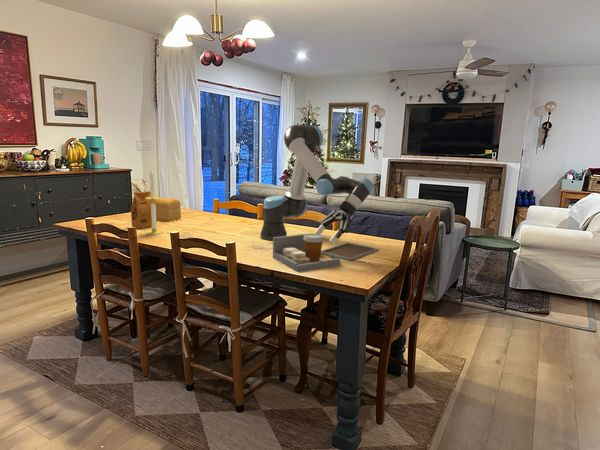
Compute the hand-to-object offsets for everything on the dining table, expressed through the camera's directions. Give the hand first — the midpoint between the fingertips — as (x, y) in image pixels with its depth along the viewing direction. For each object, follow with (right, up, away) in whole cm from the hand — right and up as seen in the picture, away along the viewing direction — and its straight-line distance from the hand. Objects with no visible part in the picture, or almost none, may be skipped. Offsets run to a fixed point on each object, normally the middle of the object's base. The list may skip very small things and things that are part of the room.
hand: (323, 239), depth 195 cm
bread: (-105, +11, +88) cm, 138 cm away
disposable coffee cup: (-5, -10, +1) cm, 11 cm away
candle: (-96, +2, +48) cm, 107 cm away
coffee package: (-107, +5, +62) cm, 124 cm away
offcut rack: (-8, -10, 0) cm, 13 cm away
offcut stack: (-13, -11, -3) cm, 17 cm away
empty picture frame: (+13, -8, +17) cm, 23 cm away
